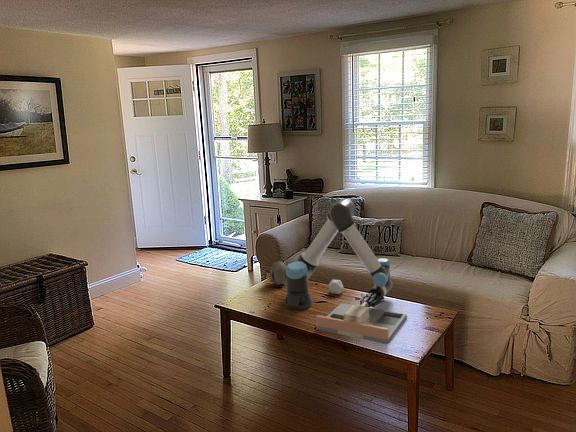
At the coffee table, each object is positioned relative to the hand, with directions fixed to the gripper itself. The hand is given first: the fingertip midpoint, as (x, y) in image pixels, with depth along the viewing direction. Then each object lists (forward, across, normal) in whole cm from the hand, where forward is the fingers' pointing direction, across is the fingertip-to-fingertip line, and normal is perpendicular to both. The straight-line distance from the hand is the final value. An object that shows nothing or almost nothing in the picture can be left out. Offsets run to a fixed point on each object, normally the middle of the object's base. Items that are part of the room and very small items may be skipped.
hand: (361, 309), depth 226 cm
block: (+6, 0, -6) cm, 9 cm away
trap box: (-1, 0, -8) cm, 8 cm away
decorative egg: (-34, +68, -8) cm, 76 cm away
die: (-33, +29, -8) cm, 45 cm away
